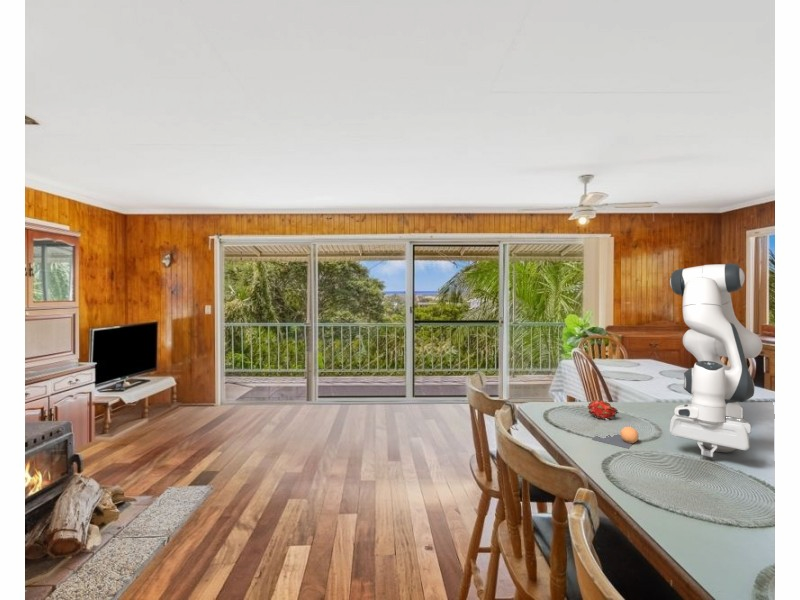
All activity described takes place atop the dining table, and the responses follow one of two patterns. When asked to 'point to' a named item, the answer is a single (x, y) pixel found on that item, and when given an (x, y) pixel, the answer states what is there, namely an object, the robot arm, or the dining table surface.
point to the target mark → (613, 441)
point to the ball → (629, 434)
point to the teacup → (719, 447)
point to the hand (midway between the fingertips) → (707, 455)
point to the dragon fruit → (602, 409)
